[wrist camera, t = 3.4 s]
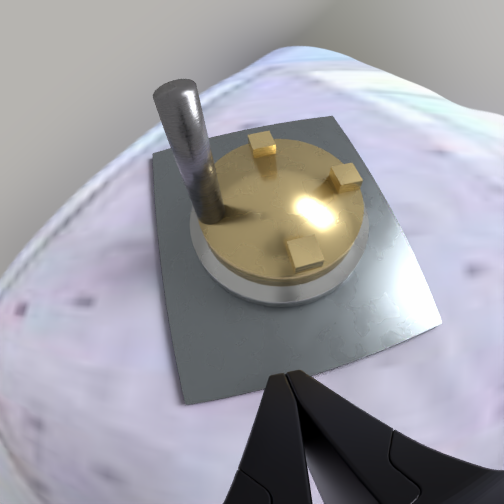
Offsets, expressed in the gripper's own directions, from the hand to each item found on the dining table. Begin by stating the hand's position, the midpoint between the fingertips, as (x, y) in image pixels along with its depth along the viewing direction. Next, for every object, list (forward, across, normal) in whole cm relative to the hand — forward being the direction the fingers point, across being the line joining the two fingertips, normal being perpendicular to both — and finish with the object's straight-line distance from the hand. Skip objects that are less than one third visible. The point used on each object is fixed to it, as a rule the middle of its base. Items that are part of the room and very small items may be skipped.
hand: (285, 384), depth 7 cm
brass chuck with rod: (+16, -3, -2) cm, 17 cm away
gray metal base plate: (+18, -4, -1) cm, 18 cm away
